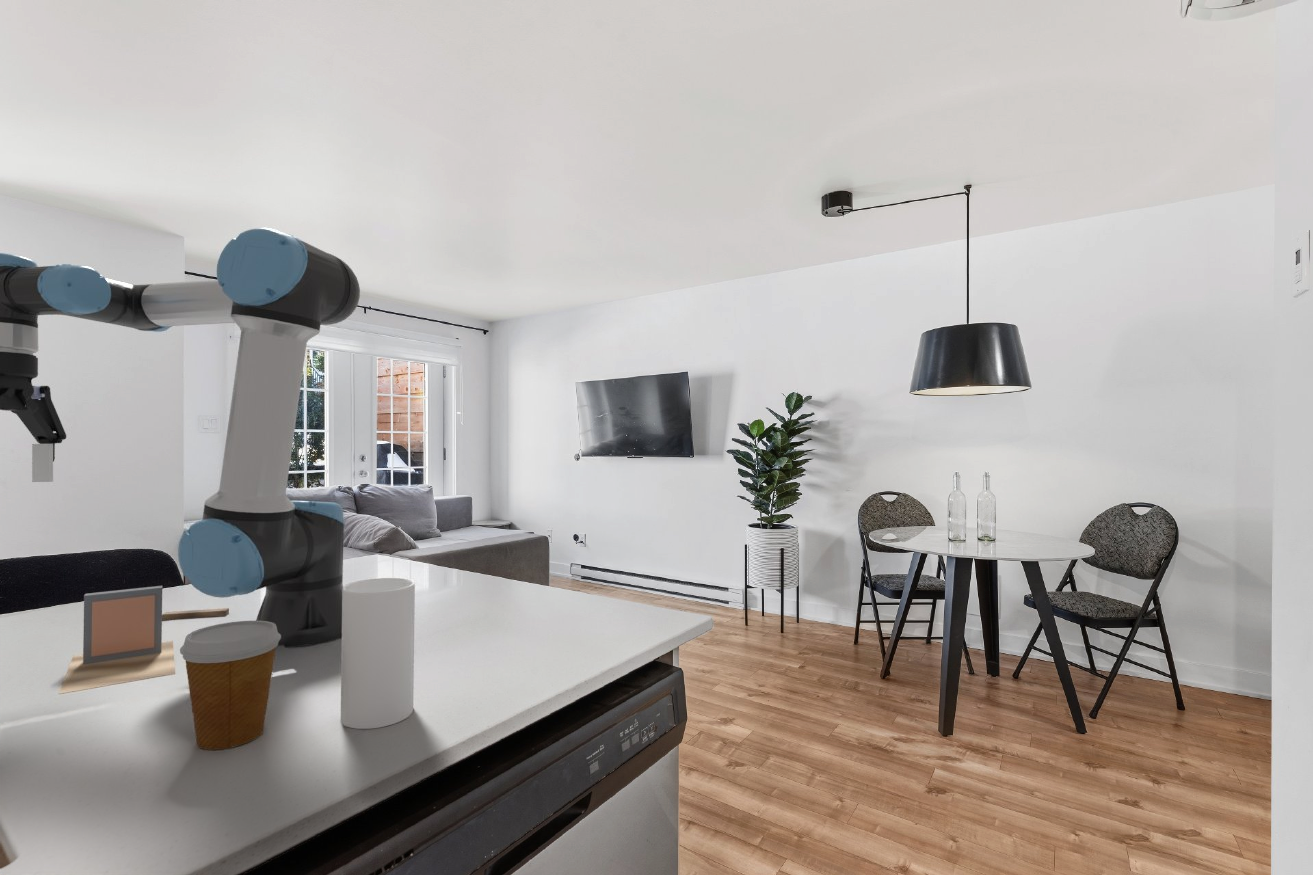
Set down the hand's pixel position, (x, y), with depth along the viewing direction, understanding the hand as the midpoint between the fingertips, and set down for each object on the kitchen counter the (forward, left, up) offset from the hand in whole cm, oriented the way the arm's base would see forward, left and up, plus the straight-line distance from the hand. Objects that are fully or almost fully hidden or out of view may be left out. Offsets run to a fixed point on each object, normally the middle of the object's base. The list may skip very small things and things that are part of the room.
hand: (5, 484), depth 102 cm
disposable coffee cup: (-60, +23, -26) cm, 69 cm away
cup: (-73, +15, -26) cm, 79 cm away
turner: (-13, -16, -26) cm, 33 cm away
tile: (-25, +3, -25) cm, 36 cm away
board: (-28, +6, -26) cm, 39 cm away
